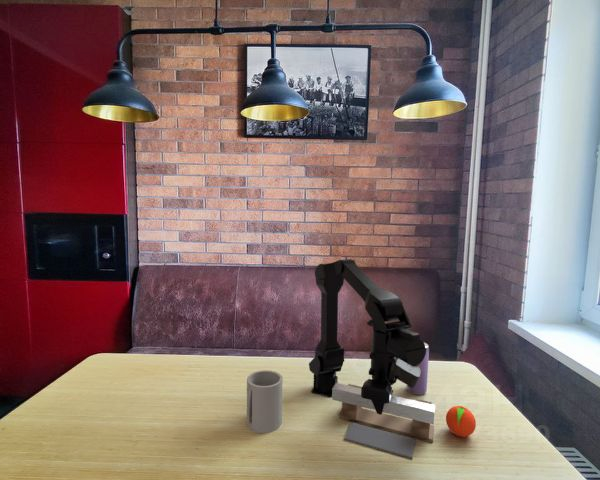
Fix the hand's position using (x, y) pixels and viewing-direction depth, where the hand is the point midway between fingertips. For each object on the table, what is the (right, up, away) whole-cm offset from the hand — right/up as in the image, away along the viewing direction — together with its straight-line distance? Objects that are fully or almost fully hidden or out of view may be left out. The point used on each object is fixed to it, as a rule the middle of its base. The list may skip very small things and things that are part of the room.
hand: (380, 410), depth 87 cm
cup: (-29, -7, +7) cm, 31 cm away
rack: (+3, -7, +7) cm, 11 cm away
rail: (0, +1, 0) cm, 1 cm away
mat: (0, -8, +1) cm, 8 cm away
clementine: (+21, -8, +3) cm, 22 cm away
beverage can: (+17, -6, +24) cm, 30 cm away
